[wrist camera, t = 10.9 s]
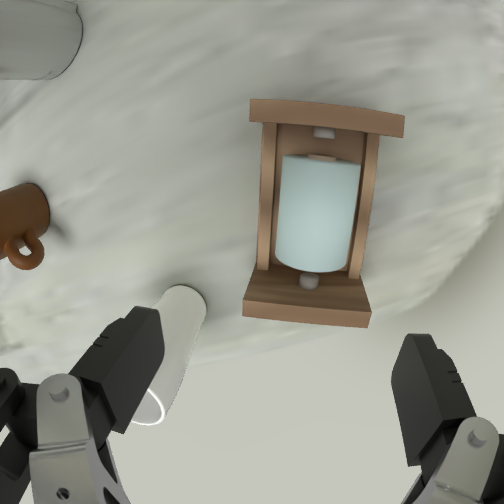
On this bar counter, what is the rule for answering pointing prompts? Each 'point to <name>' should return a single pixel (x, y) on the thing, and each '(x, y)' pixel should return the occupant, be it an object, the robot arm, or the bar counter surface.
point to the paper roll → (316, 211)
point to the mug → (23, 224)
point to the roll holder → (267, 265)
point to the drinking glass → (172, 350)
